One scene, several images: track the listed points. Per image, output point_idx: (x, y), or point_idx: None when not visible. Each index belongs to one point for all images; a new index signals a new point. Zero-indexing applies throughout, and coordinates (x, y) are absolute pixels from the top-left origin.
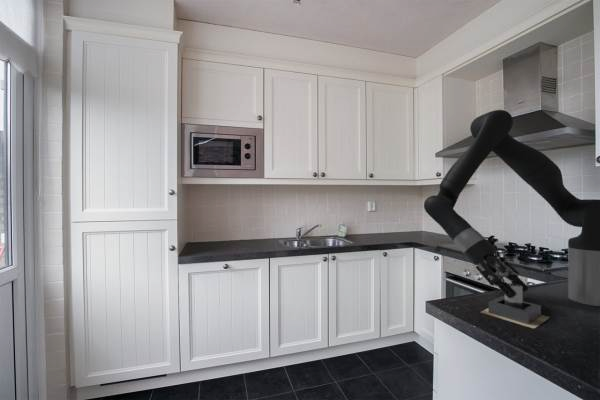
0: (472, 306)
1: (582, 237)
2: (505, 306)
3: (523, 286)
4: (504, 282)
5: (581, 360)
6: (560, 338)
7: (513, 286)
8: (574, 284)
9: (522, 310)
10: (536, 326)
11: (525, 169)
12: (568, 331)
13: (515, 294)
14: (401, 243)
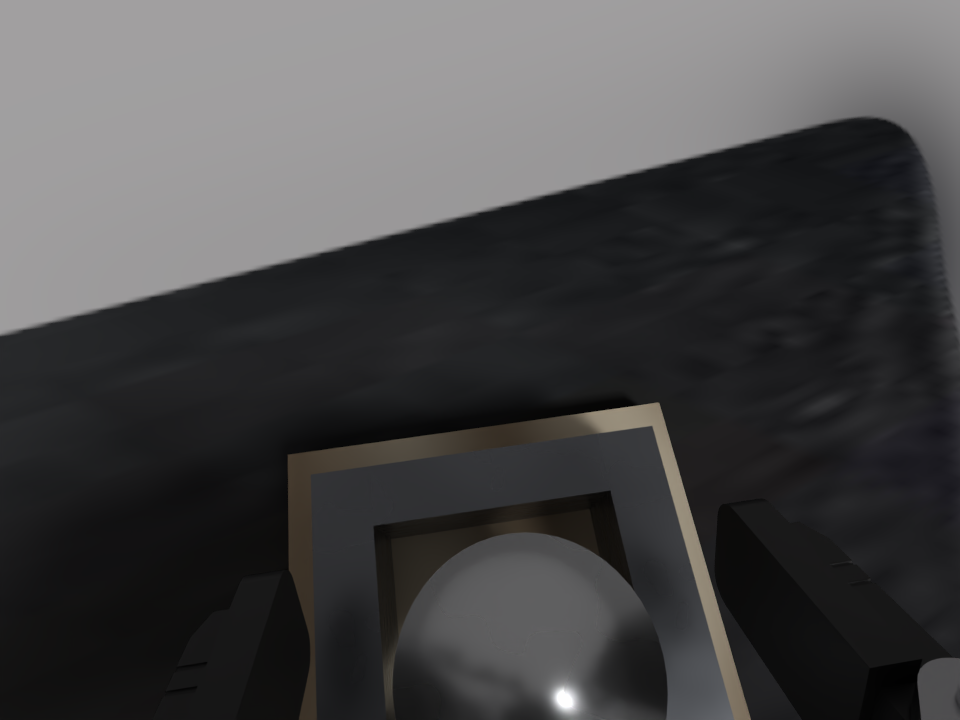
0: None
1: None
2: (703, 634)
3: (279, 633)
4: (916, 663)
5: (735, 182)
6: (559, 314)
7: (603, 629)
8: None
9: (642, 483)
10: (599, 413)
11: None
12: (388, 336)
13: (760, 499)
14: None
